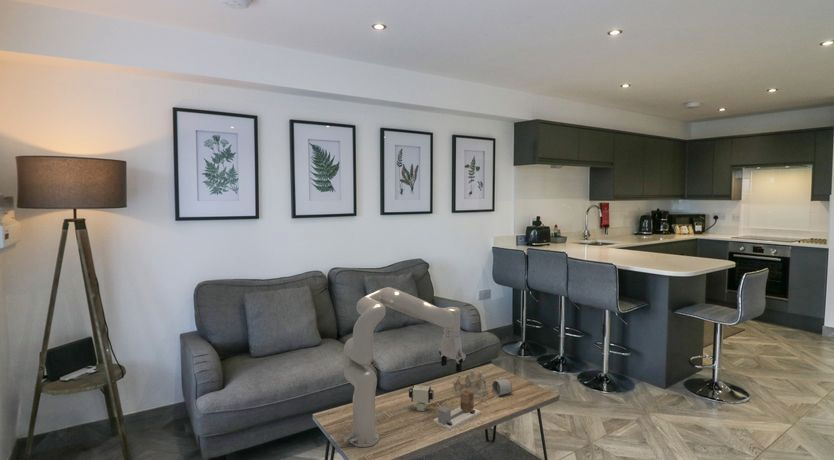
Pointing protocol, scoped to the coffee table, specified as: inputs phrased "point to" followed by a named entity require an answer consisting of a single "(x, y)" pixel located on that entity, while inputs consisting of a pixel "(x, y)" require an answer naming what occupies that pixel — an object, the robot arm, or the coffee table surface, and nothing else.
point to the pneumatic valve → (421, 396)
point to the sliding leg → (467, 400)
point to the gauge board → (454, 417)
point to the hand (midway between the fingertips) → (451, 368)
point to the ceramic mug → (501, 387)
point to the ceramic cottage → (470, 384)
